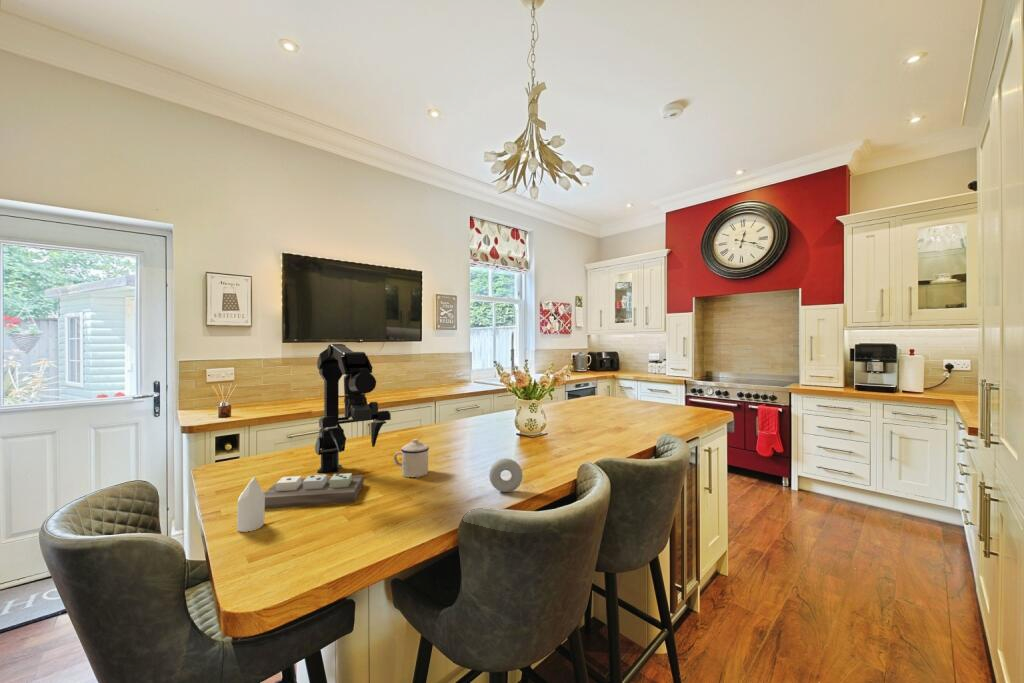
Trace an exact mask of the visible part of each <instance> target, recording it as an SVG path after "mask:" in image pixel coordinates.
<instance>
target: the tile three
mask: <svg viewBox="0 0 1024 683" xmlns="http://www.w3.org/2000/svg"><path fill="white" fill-rule="evenodd" d="M352 474H353V473H352V472H350V473H348V472H347V473H333V475H332V476H331V477H332V478H331V479H330V488H338V487H349V486H350V484H351V483H352V476H353V475H352Z"/></svg>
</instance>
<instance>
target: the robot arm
mask: <svg viewBox="0 0 1024 683" xmlns="http://www.w3.org/2000/svg"><path fill="white" fill-rule="evenodd" d="M316 365H317V366H316V367H317V370H318V374H319V376H320V377H321V379H322V380H323V381H324V382H323V386H324V387H323V388H324V390H323V396H324V398H323V399H324V400H323V412H324V413H323V416H321V417H320V418H319V419H318V428H320V429H319V431H318V436H317V438H316V441H315V445H314V452H315V453H316V455H317V456H320V467H319V469H317V471H316V473H336V472H337V473H338V471H339V470H340V469H341V467H342V464H340V462H339V460H340V458H339V457H340V454H339V453H342V452H344V451H345V448H346V441H347V437H346V435H345V430H344V428H342V426H341V424H348V423H358V422H367V421H371V423H370V426H371V427H370V429H371V430H370V431H371V433H370V434H371V435H370V436H371V439H370V442H371V446H372V448H374V447H376V442H377V439H378V436H379V434H380V431H381V428H382V427H383V426H384V424H387V421H391V420H392V418H391V416H392V415H391V412H390V411H389V410H379V404H378V401H370V402H369V403H368V400H367V396H366V394H369V393H371V392H373V391H374V390H375V388H376V386H377V380H376V378H375V376H374V375H373V374H372V373H373V365H372V363H371V361H370V359H369V357H368V355H367V354H366V352H365V351H353V350H352V349H350V348H348V347H347V345H346V344H343V343H331V344H329V345H327V348H326V349H325V350H323V351H322V352H320V353H319V355H318V358H317V362H316ZM342 377H343V393H344V394H343V395H344V396H343V397H344V399H343V403H344V414H343V415H344V416H341V417H339V414H340V413H339V412H340V411H339V397H340V396H339V393H340V392H339V389H340V388H339V385H340V383H339V382H340V380H341V378H342Z"/></svg>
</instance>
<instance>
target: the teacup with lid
mask: <svg viewBox="0 0 1024 683" xmlns="http://www.w3.org/2000/svg"><path fill="white" fill-rule="evenodd" d="M429 449H430V447H429V445H428V444H426V443H423V442H421V441H419V439H418V438H413V439H412V440H411V442H409V443H407V444H405V445H403V446H402V447H401V450H399V451H396V452H395V453H394V455H393V460H394V463H395V465H396V466H399V467H401V475H402V476H403V477H405V478H409V477H412V479H413V477H416V478H421V476H422V477H424V476H426V475H427V474H428V473H429ZM398 455H401V463H400V462H399V461H398V458H397V456H398Z"/></svg>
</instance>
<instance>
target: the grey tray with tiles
mask: <svg viewBox="0 0 1024 683" xmlns="http://www.w3.org/2000/svg"><path fill="white" fill-rule="evenodd" d="M306 478H307V477H303V478H302V477H301V485H300V487H299V488H298V489H297V490H289V491H276V483H277V482H278V481H279V480H280V479H278V481H276V482H275V483H274V484H272V486H270V487H269V488H268V489H267V490H266V491H264V492H265V510H266V509H267V508H269V509H280V508H293V507H294V508H295V507H310V506H324V504H327V505H339V504H338V503H341V504H352V503H355V502H356V500H357V498H358V496H359V494H360V492H361V490H362V488H363V486H364V474H359V475H357V474H356V475H352V483H351V484H350V486H349V487H338V488H330V479H331V478H332V476H327V484H326V485H325V486H324V488H322V489H306V490H303V481H304V480H305V479H306ZM361 487H362V488H361ZM267 510H268V509H267Z"/></svg>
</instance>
